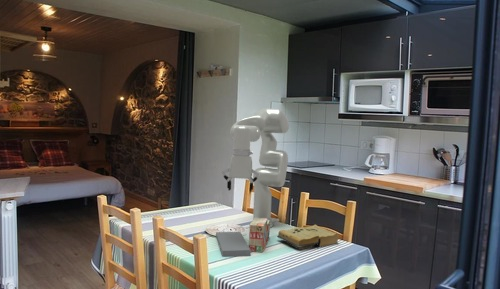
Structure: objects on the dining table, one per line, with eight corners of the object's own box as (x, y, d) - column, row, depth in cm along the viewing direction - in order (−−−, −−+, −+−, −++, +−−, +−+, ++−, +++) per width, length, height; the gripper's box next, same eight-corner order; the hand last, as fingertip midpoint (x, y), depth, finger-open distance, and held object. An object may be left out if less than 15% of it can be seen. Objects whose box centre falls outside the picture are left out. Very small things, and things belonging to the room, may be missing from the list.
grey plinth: (240, 236, 188) (240, 231, 188) (250, 255, 162) (250, 250, 162) (216, 237, 186) (216, 232, 185) (222, 256, 160) (222, 250, 160)
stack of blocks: (256, 237, 189) (258, 212, 188) (269, 238, 188) (270, 213, 187) (248, 251, 168) (249, 224, 167) (262, 253, 167) (263, 225, 166)
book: (315, 234, 197) (315, 223, 197) (338, 244, 183) (339, 232, 183) (276, 241, 184) (276, 229, 183) (298, 252, 170) (299, 239, 169)
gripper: (261, 153, 176) (259, 190, 177) (224, 151, 178) (223, 187, 179) (259, 155, 168) (258, 193, 170) (221, 153, 170) (219, 191, 172)
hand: (240, 190), depth 174 cm, fingers open, 9 cm apart
